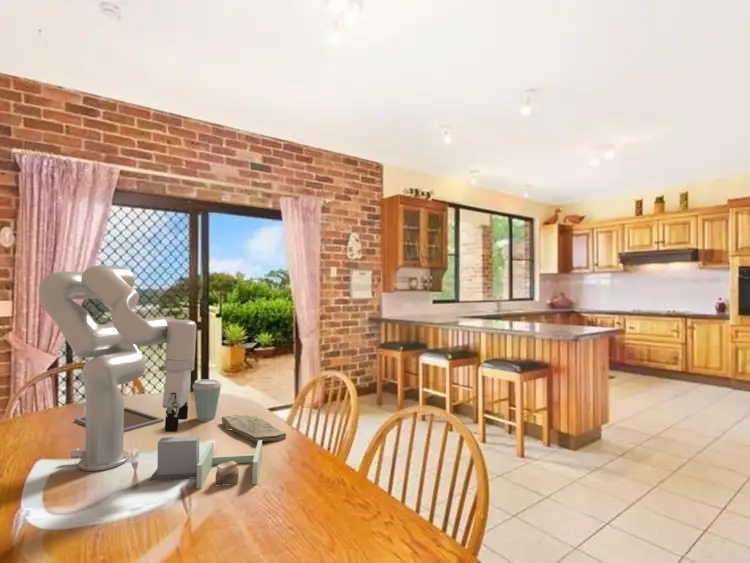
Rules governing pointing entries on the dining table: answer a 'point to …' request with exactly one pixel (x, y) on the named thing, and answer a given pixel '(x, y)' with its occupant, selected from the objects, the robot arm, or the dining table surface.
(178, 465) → the tall grey upright block
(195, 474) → the panel
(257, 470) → the rack
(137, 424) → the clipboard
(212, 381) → the disposable coffee cup
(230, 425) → the stone slab
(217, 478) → the offcut
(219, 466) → the offcut
